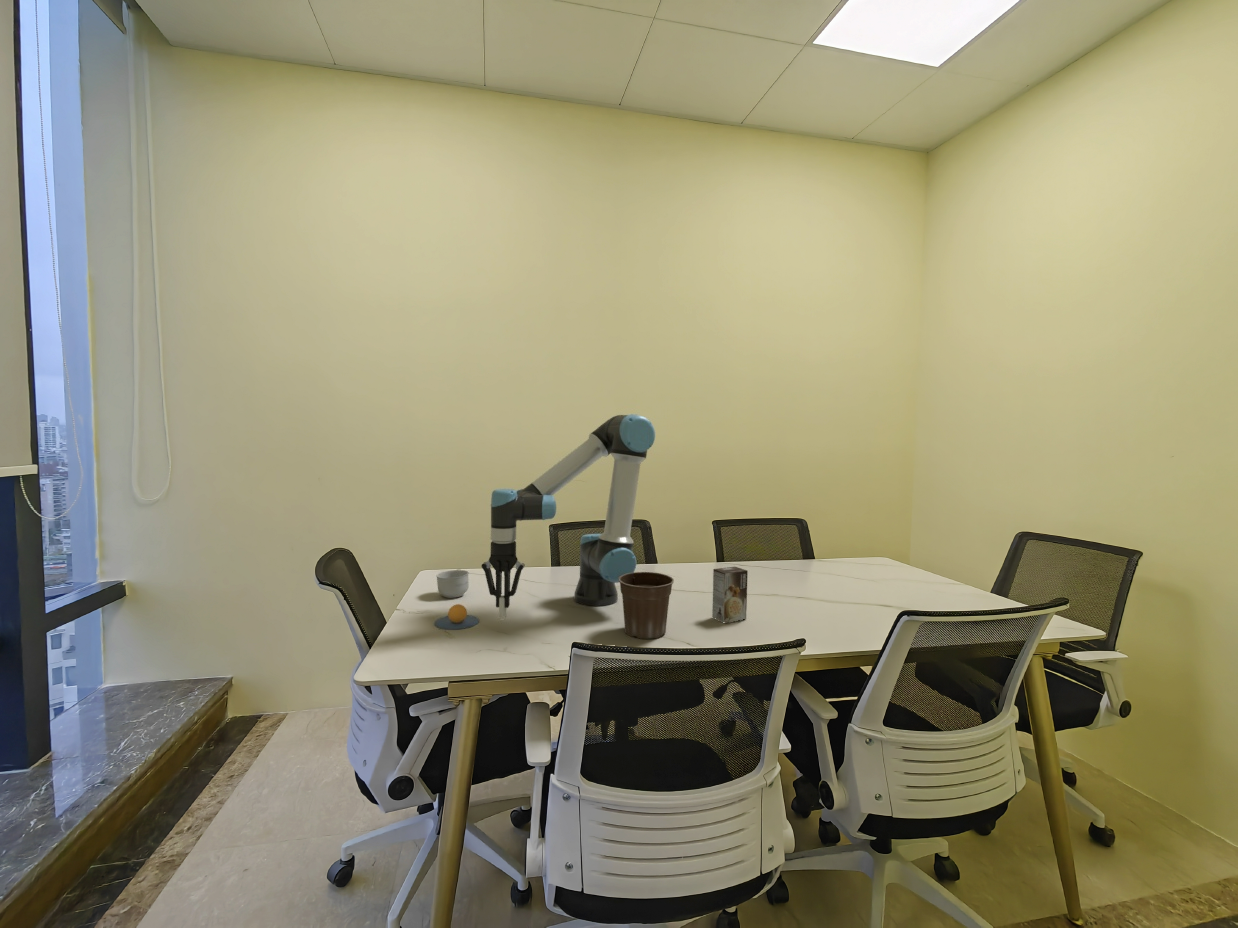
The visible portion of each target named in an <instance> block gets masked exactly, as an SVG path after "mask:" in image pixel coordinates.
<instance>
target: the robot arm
mask: <svg viewBox="0 0 1238 928" xmlns="http://www.w3.org/2000/svg"><path fill="white" fill-rule="evenodd" d="M655 439H656V430H655V427H654V425H653V423H652V422H651V420H649V419H648V418H647V417H645V416H643V415H638V414H618V415H617V414H616V415H614V416H612V417H611V418H609V419H607V420H606V421H604V422H603V423H602V424H601V425H600V426H597V428H595V430H593V431H592V432H590V433H589V435H588V438H587V440H585V441H584V442H583V443H582V444H580V445H579V446H578V447H576V448H575V449H574V450H572V451H571V452H570V453H568V454H566V456H565V457H563V458H562V459H561V460H559V461H558V462H557V463H556V464H554V465H553V466H552V467H550V468H549V469H548V470H547V471H545V472H544V473H542V474H541V475H540V476H539V477H537V478H536V479H535V480H534V481H532V482H531V483H530V484H528V485H527V486H525V487H524V488H521V489H517V490H515V489H513V488H498V489H494V490H493V491H492V492H491V500H490V540H491V542H490V556H489V557H488V560H487V561H484V562H483V563H482V564H481V568H482V570H483V571H484V575H485V579H486V584H487V587H488V592H489V594H490V596H494V597H495V607H496V608H498V619H499V620H505V619H506V617H507V609H508V608H509V607H510V605H511V603H510V602H511V601H510V600H511V599H510V598H511V597H513V596H515V594H516V593H517V589H518V586H519V580H520V577H521V574H522V571H523V570H524V568H525V563H523V562H520V561H519V559H518V557H517V542H516V540H517V521H519V522H521V521H541V520H543V521H546V520H552V519H554V518H555V516H556V513H557V502H556V499H555V497H554V495H555V494H556V493H557V492H559V491H560V490H561V489H563V488H564V487H565V486H567V485H568V484H569V483H570V482H571V481H572V480H574V479H575V478H577V477H578V476H579V475H580V474H582V473H583V472H584V471H586V470H587V469H588V468H589V467H590V466H592V465H593V464H594V463H595V462H597V461H598V460H600V459H601V458H602V457H604V458H606V457H608V456H609V455H611V456H612V457H613V459H614V461H613V467H612V468H613V470H612V474H611V475H612V476H611V480H610V481H611V483H610V489H609V497H608V502H607V510H606V516H605V517H606V518H605V524H604V528H603V529H604V531H603V532H601V533H588V534H584V535H582V536H581V537H580V543H579V578H578V581H577V585H576V587H575V590H574V597H573V598H574V601H575V602H577V603H578V604H581V605H585V606H593V607H594V606H596V607H597V606H609V605H612V604H615V603H616V602H617V601H618V597H619V596H618V590H617V586H616V584H618V583H619V584H620V582H619V580H618V578H619V577H620V576H622V575H624V574H628V573H633V572H636V571H635V570H636V566H637V558H636V556H635V554H634V552H633V550H634V539H633V538H632V537H631V532H632V526H633V525H632V524H633V518H634V510H635V503H636V497H637V490H638V484H639V483H638V482H639V476H640V471H641V465H642V463H643V462H644V461H645V460H646V459H647V455H648V454H647V453H648V450H649V449H650V448H651V447H652V446H653V445H654V443H655ZM491 567H492V568H493V570H494V571H495V582H494V578H493V573H492V569H491ZM514 567H515V570H516V571H515V574H514V578H513V582H512V585H511V570H512V569H513V568H514ZM502 575H503V576H504V579H503V576H502ZM502 579H503V580H504V581H503V580H502ZM502 581H503V582H502ZM502 583H503V584H502ZM615 583H616V584H615ZM502 585H504V586H503V589H504V590H503V589H502ZM502 590H503V592H504V593H503V592H502ZM502 594H504V595H502Z"/></svg>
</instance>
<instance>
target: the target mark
mask: <svg viewBox="0 0 1238 928" xmlns="http://www.w3.org/2000/svg"><path fill="white" fill-rule="evenodd" d="M479 622H480V620H479V618H478V616H475V615H471V614H467V616H466V618H465V620H464V621H462V622H460V623H454V622H452V621H451V620H450V619H449V617H448V615H446V616H442V617H439V618H438V619H436V620H435V621H434V626H435V627H436V628H438V629H442V630H449V631H450V630H453V631H454V630H455V631H456V630H463V629H465V630H466V629H469V628H472V627H474V626H475V627H476V625H478V624H479Z"/></svg>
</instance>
